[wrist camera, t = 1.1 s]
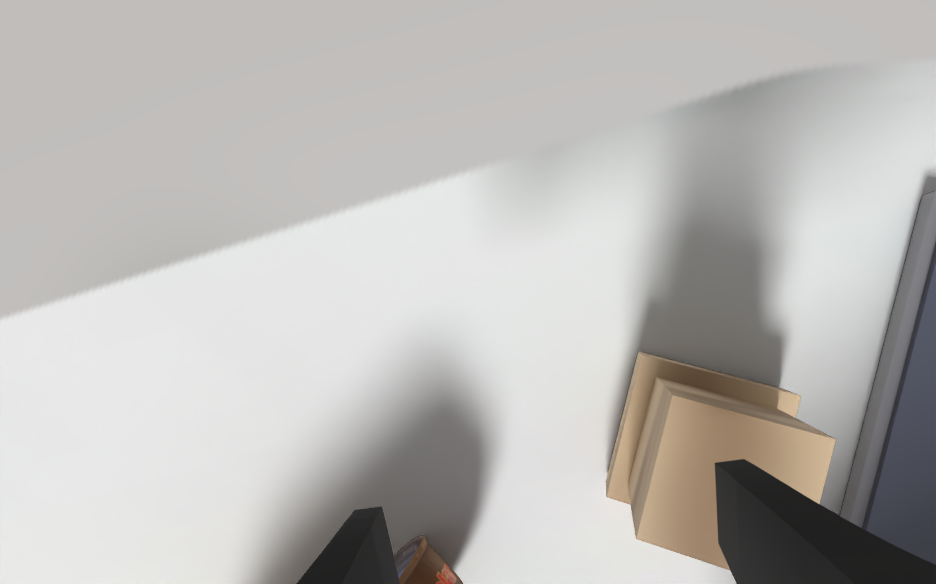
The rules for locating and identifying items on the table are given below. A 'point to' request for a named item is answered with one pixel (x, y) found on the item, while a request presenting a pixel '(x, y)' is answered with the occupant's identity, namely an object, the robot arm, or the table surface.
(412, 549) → the tin
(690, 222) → the table surface
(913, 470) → the ink pad
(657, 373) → the stamp
